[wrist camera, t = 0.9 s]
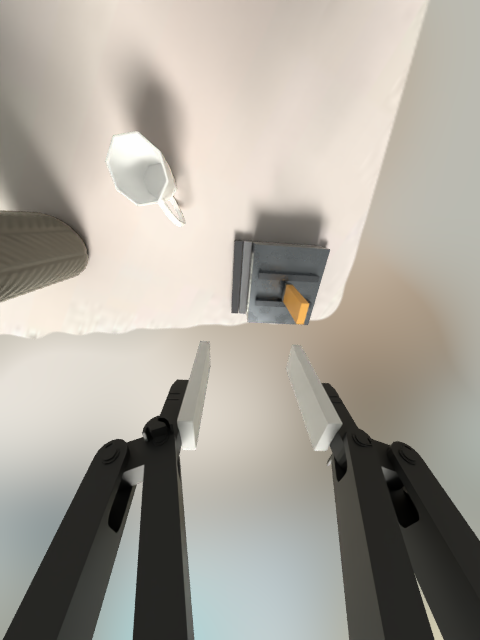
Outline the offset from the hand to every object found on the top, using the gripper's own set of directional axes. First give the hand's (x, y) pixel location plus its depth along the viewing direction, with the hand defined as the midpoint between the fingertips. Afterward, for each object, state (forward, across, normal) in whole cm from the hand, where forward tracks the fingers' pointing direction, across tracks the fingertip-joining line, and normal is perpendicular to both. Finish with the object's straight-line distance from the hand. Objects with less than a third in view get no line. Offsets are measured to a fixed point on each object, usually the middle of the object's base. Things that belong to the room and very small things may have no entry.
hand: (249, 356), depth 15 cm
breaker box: (+23, +8, 0) cm, 24 cm away
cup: (+23, -12, +13) cm, 29 cm away
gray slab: (+23, -1, 0) cm, 23 cm away
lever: (+17, +8, 0) cm, 18 cm away
